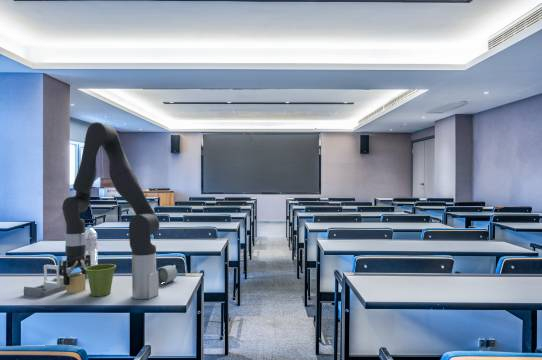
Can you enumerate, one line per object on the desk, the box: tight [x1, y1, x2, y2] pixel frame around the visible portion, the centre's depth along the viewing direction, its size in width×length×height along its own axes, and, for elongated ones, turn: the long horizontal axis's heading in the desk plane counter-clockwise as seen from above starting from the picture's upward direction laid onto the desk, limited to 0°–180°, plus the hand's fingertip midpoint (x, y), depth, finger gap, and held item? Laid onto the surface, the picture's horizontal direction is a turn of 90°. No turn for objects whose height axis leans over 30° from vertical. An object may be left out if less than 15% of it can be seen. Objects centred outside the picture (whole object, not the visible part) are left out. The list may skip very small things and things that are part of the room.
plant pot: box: [85, 263, 117, 297], centre depth 153 cm, size 12×12×11 cm
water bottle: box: [83, 224, 99, 278], centre depth 181 cm, size 7×7×25 cm
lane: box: [23, 284, 66, 299], centre depth 156 cm, size 10×16×4 cm, turn 162°
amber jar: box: [65, 271, 86, 294], centre depth 156 cm, size 5×5×8 cm
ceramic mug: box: [156, 264, 178, 285], centre depth 171 cm, size 11×8×8 cm
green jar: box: [49, 276, 64, 286], centre depth 160 cm, size 5×5×4 cm
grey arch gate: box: [43, 264, 61, 290], centre depth 157 cm, size 8×2×10 cm, turn 72°
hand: (75, 282), depth 156 cm, fingers open, 8 cm apart
